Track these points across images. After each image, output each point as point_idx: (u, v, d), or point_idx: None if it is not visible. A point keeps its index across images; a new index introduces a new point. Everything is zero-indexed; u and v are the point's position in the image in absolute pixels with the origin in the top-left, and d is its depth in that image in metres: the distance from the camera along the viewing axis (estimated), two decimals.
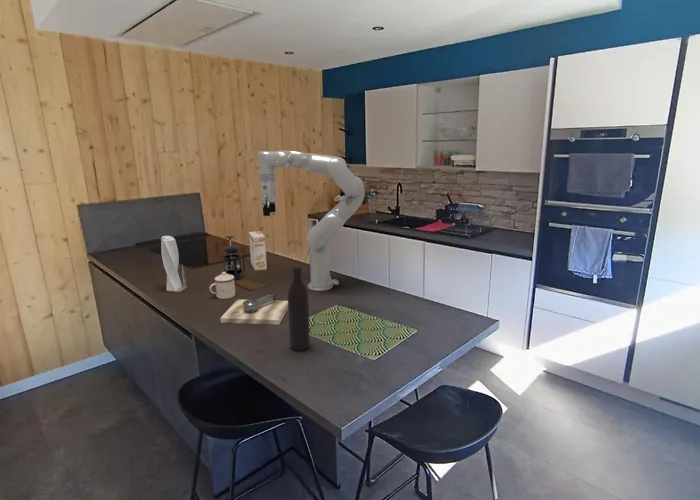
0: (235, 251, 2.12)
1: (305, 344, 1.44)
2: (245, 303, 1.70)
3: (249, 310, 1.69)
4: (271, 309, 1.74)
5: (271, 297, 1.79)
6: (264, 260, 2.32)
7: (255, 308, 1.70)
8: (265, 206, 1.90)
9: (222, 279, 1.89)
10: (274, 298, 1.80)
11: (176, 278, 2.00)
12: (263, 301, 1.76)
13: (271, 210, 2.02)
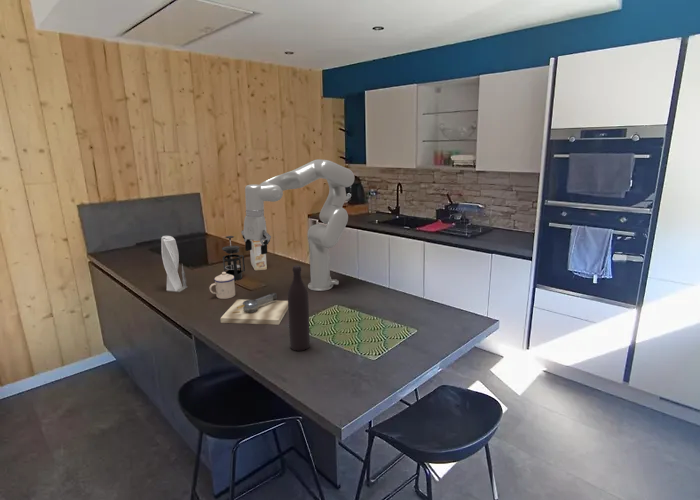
0: (235, 251, 2.12)
1: (305, 344, 1.44)
2: (245, 303, 1.70)
3: (249, 310, 1.69)
4: (271, 309, 1.74)
5: (271, 297, 1.79)
6: (264, 260, 2.32)
7: (255, 308, 1.70)
8: None
9: (222, 279, 1.89)
10: (274, 298, 1.80)
11: (176, 278, 2.00)
12: (263, 301, 1.76)
13: None
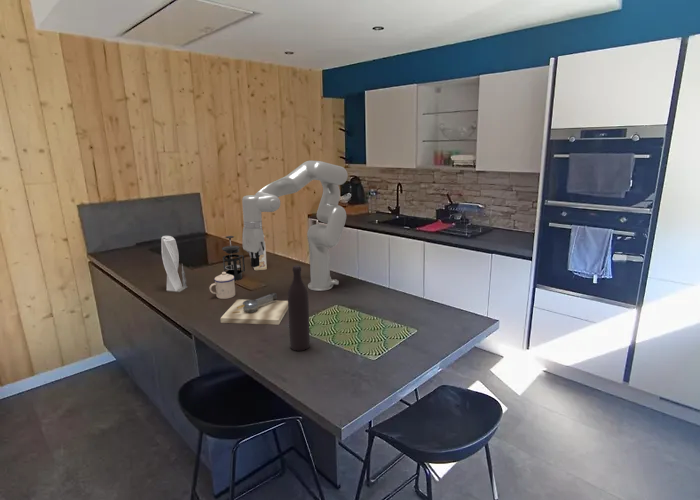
0: (235, 251, 2.12)
1: (305, 344, 1.44)
2: (245, 303, 1.70)
3: (249, 310, 1.69)
4: (271, 309, 1.74)
5: (271, 297, 1.79)
6: (264, 260, 2.32)
7: (255, 308, 1.70)
8: None
9: (222, 279, 1.89)
10: (274, 298, 1.80)
11: (176, 278, 2.00)
12: (263, 301, 1.76)
13: None
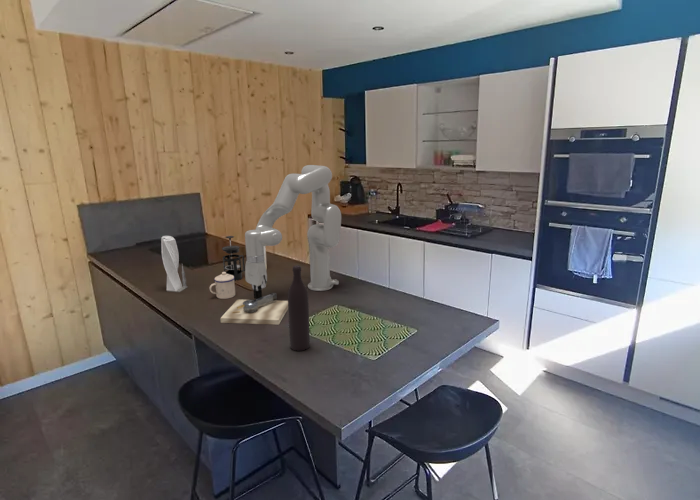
0: (235, 251, 2.12)
1: (305, 344, 1.44)
2: (245, 303, 1.70)
3: (249, 310, 1.69)
4: (271, 309, 1.74)
5: (271, 297, 1.79)
6: (264, 260, 2.32)
7: (255, 308, 1.70)
8: None
9: (222, 279, 1.89)
10: (274, 298, 1.80)
11: (176, 278, 2.00)
12: (263, 301, 1.76)
13: None
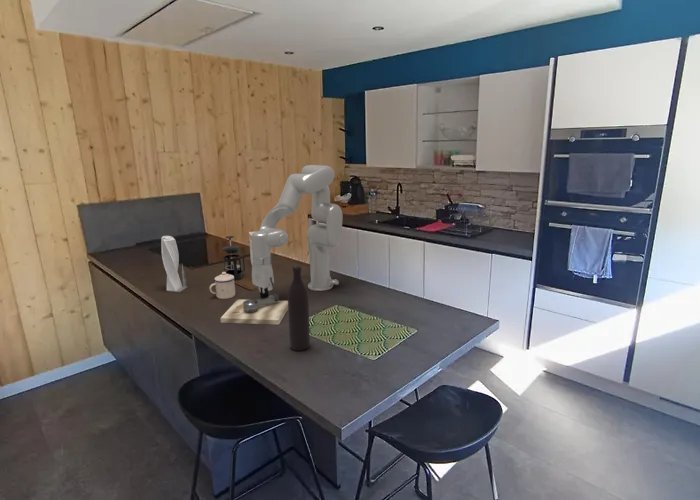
0: (235, 251, 2.12)
1: (305, 344, 1.44)
2: (245, 303, 1.71)
3: (248, 310, 1.69)
4: (271, 309, 1.74)
5: (272, 298, 1.78)
6: None
7: (254, 308, 1.70)
8: None
9: (222, 279, 1.89)
10: (276, 299, 1.79)
11: (176, 278, 2.00)
12: (264, 301, 1.75)
13: None
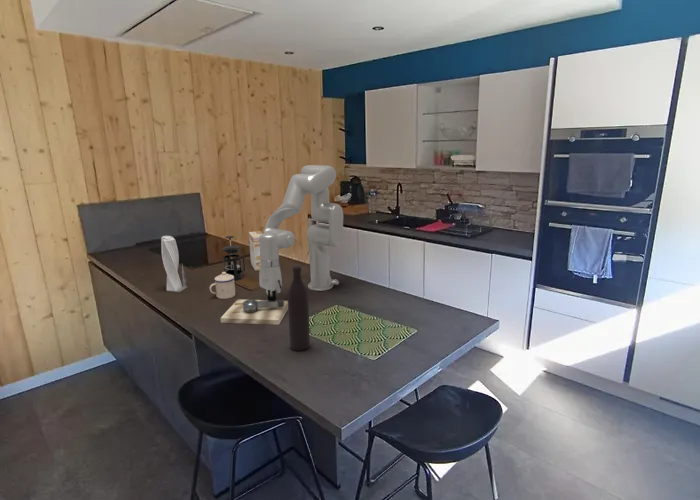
0: (235, 251, 2.12)
1: (305, 344, 1.44)
2: (245, 302, 1.72)
3: (245, 309, 1.70)
4: (271, 309, 1.74)
5: (276, 303, 1.73)
6: None
7: (250, 309, 1.69)
8: None
9: (222, 279, 1.89)
10: (279, 305, 1.73)
11: (176, 278, 2.00)
12: (265, 305, 1.72)
13: None
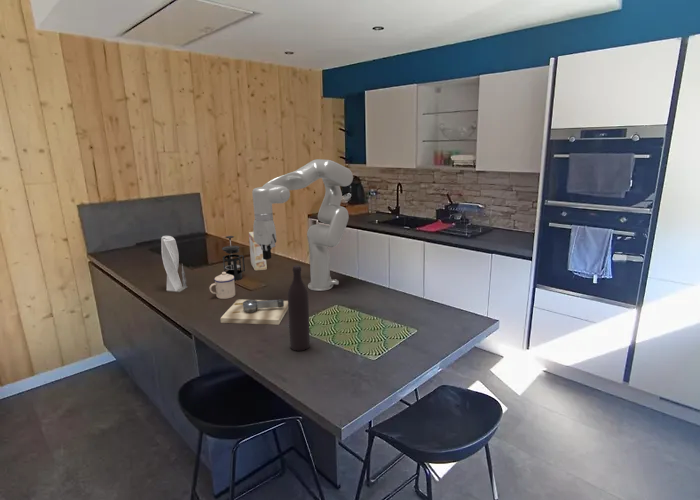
0: (235, 251, 2.12)
1: (305, 344, 1.44)
2: (245, 302, 1.72)
3: (245, 309, 1.70)
4: (271, 309, 1.74)
5: (276, 303, 1.73)
6: (264, 260, 2.32)
7: (250, 309, 1.69)
8: None
9: (222, 279, 1.89)
10: (279, 305, 1.73)
11: (176, 278, 2.00)
12: (265, 305, 1.72)
13: None
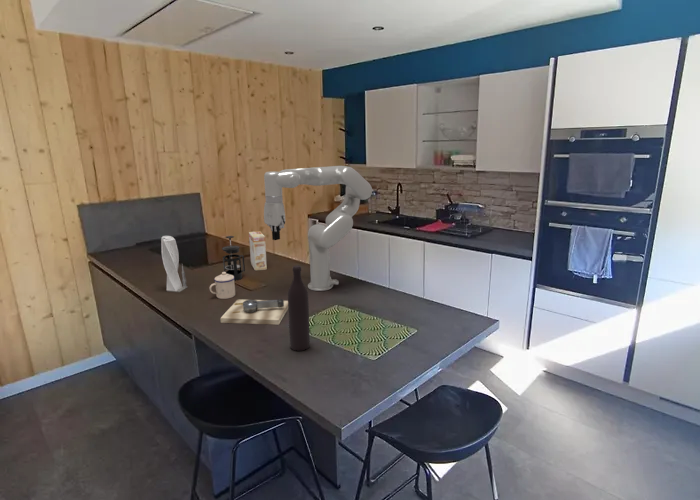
0: (235, 251, 2.12)
1: (305, 344, 1.44)
2: (245, 302, 1.72)
3: (245, 309, 1.70)
4: (271, 309, 1.74)
5: (276, 303, 1.73)
6: (264, 260, 2.32)
7: (250, 309, 1.69)
8: None
9: (222, 279, 1.89)
10: (279, 305, 1.73)
11: (176, 278, 2.00)
12: (265, 305, 1.72)
13: None
